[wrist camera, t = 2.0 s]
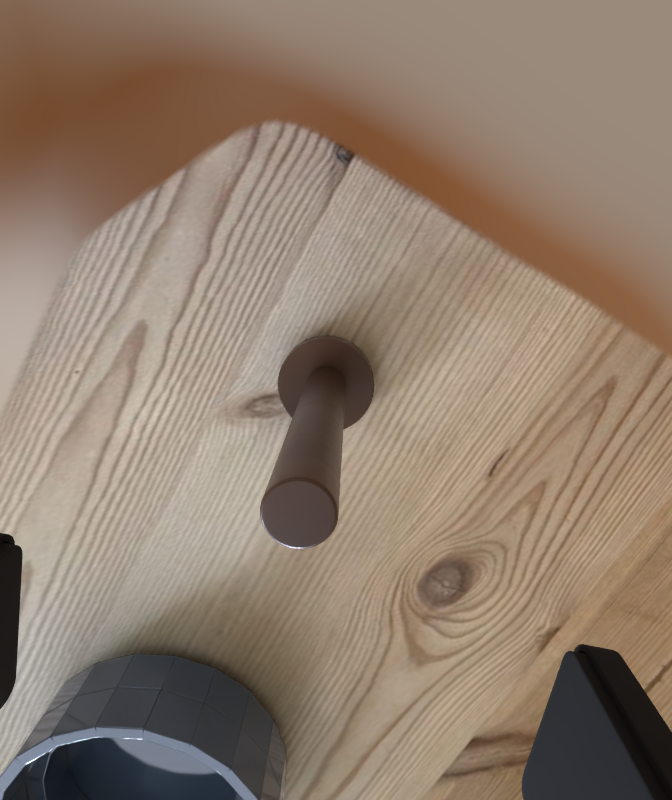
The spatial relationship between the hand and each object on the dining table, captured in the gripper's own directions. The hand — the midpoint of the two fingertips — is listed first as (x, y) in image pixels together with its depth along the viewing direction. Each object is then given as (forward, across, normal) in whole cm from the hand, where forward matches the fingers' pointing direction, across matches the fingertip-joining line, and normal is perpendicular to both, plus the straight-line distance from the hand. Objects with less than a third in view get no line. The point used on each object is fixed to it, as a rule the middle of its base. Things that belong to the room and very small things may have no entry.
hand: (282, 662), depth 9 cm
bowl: (+20, +6, +25) cm, 33 cm away
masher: (+20, 0, 0) cm, 20 cm away
